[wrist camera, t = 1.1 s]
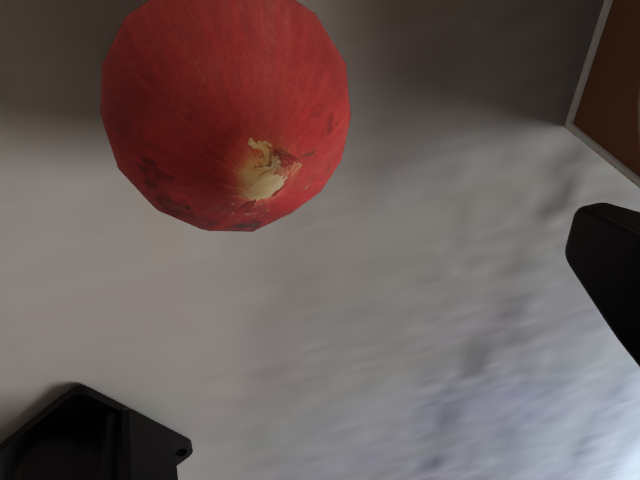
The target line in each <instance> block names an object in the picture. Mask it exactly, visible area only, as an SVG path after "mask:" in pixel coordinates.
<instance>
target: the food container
mask: <svg viewBox="0 0 640 480" xmlns="http://www.w3.org/2000/svg"><path fill="white" fill-rule="evenodd" d="M564 127H565V128H567V129H568V130H569V131H570V132H571V133H573V134H574V135H575V136H576V137H578V138H579V139H580V140H581V141H583V142H584V143H585V144H586V145H587V146H589V147H590V148H591V149H592V150H594V151H595V152H596V153H597V154H598V155H600V156H601V157H602V158H603V159H605V160H606V161H607V162H608V163H610V164H611V165H612V166H613V167H614V168H616V169H617V170H618V171H619V172H621V173H622V174H623V175H624V176H626V177H627V178H628V179H629V180H630V181H632V182H633V183H634V184H635V185H637V186H638V187H639V188H640V0H604V3H603V6H602V9H601V12H600V15H599V19H598V22H597V25H596V28H595V31H594V34H593V37H592V41H591V44H590V47H589V50H588V53H587V56H586V60H585V63H584V66H583V69H582V72H581V75H580V78H579V82H578V85H577V88H576V91H575V94H574V97H573V100H572V104H571V107H570V110H569V113H568V116H567V119H566V122H565V126H564Z"/></svg>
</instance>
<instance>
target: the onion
mask: <svg viewBox="0 0 640 480" xmlns="http://www.w3.org/2000/svg"><path fill="white" fill-rule="evenodd" d="M100 112H101V116H102V119H103V123H104V127H105V130H106V133H107V136H108V139H109V142H110V145H111V147H112V150H113V153H114V156H115V159H116V162H117V165H118V168H119V170H120V171H121V172H122V173H123V174H124V175H125V176H126V177H127V178H128V179H129V180H130V182H131V183H132V184H133V185H134V186H135V187H136V188H137V189H138V190H139V191H140V192H141V194H142V195H143V196H144V197H145V198H146V199H147V200H148V201H149V202H150V203H151V204H152V205H153V206H154V207H155V208H156V209H157V210H158V211H161V212H163V213H165V214H168V215H170V216H172V217H175V218H177V219H179V220H182V221H184V222H186V223H188V224H191V225H193V226H195V227H198V228H200V229H204V230H208V231H248V232H253V231H255V230H257V229H259V228H261V227H263V226H265V225H267V224H269V223H271V222H274V221H276V220H278V219H280V218H282V217H284V216H286V215H288V214H290V213H292V212H293V211H295V210H296V209H297V208H299V207H300V206H301V205H303V204H304V203H306V202H307V201H308V200H310V199H311V198H312V197H314V196H315V195H316V194H318V193H319V192H320V191H321V190H322V189H323V187H324V186H325V184H326V183H327V181H328V180H329V178H330V177H331V175H332V173H333V172H334V170H335V169H336V167H337V166H338V164H339V163H340V161H341V159H342V154H343V150H344V145H345V141H346V136H347V132H348V127H349V122H350V118H351V113H350V105H349V96H348V85H347V73H346V63H345V61H344V60H343V58H342V57H341V55H340V53H339V52H338V50H337V48H336V47H335V45H334V44H333V42H332V40H331V39H330V37H329V35H328V34H327V32H326V31H325V29H324V27H323V26H322V24H321V22H320V21H319V19H318V18H317V16H316V14H315V13H313V12H312V11H310V10H309V9H307V8H306V7H304V6H303V5H301V4H300V3H298V2H297V1H295V0H149V1H148V2H146V3H145V4H143V5H142V6H140V7H139V8H137V9H136V10H135V11H133V12H132V13H130V14H129V15H127V16H126V17H125V19H124V21H123V23H122V25H121V27H120V29H119V31H118V33H117V35H116V37H115V39H114V41H113V43H112V45H111V47H110V49H109V51H108V53H107V55H106V57H105V59H104V61H103V63H102V85H101V111H100Z"/></svg>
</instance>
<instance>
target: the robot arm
mask: <svg viewBox="0 0 640 480" xmlns="http://www.w3.org/2000/svg"><path fill="white" fill-rule="evenodd" d="M565 254H566V259H567V261H568V263H569V265H570V267H571V268H572V270H573V271H574V273H575V274H576V276H577V278H578V279H579V281H580V282H581V284H582V285H583V287H584V288H585V290H586V291H587V293H588V294H589V296H590V298H591V299H592V301H593V302H594V304H595V305H596V307H597V308H598V310H599V311H600V313H601V315H602V316H603V318H604V319H605V321H606V322H607V324H608V325H609V327H610V328H611V330H612V331H613V333H614V334H615V335H616V337H617V338H618V340H619V341H620V342H621V344H622V345H623V346H624V348H625V349H626V350H627V351H628V353H629V354H630V355H631V356H632V358H633V359H634V360H635V361H636V363H637V364H638V365H639V366H640V212H637V211H633V210H630V209H626V208H622V207H619V206H615V205H612V204H608V203H596V204H591V205H587V206H583V207H581V208H579V209H578V210H577V211H576V213H575V214H574V217H573V221H572V225H571V229H570V233H569V236H568V240H567V244H566V249H565ZM78 398H82V399H79V400H78ZM192 452H193V449H192V443H191V440H190V439H188V438H186V437H184V436H182V435H180V434H178V433H177V432H175V431H173V430H171V429H169V428H167V427H165V426H163V425H161V424H159V423H157V422H155V421H153V420H151V419H149V418H147V417H146V416H144V415H142V414H140V413H138V412H136V411H134V410H132V409H130V408H128V407H126V406H124V405H122V404H120V403H118V402H117V401H115V400H113V399H111V398H109V397H107V396H105V395H103V394H101V393H99V392H97V391H95V390H93V389H91V388H89V387H86V386H76V387H73V388H71V389H70V390H68V391H67V392H66V393H65V394H63V395H62V396H61V397H60V398H58V399H57V400H56V401H55V402H53V403H52V404H51V405H50V406H48V407H47V408H46V409H45V410H43V411H42V412H41V413H40V414H38V415H37V416H36V417H35V418H33V419H32V420H31V421H29V422H28V423H27V424H26V425H24V426H23V427H22V428H21V429H19V430H18V431H17V432H16V433H14V434H13V435H12V436H11V437H9V438H8V439H7V440H6V441H4V442H3V443H2V444H1V445H0V480H178V476H177V465H178V464H180V463H181V462H182V461H184V460H185V459H186V458H188V457H189V456H190V455H191V454H192Z"/></svg>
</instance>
